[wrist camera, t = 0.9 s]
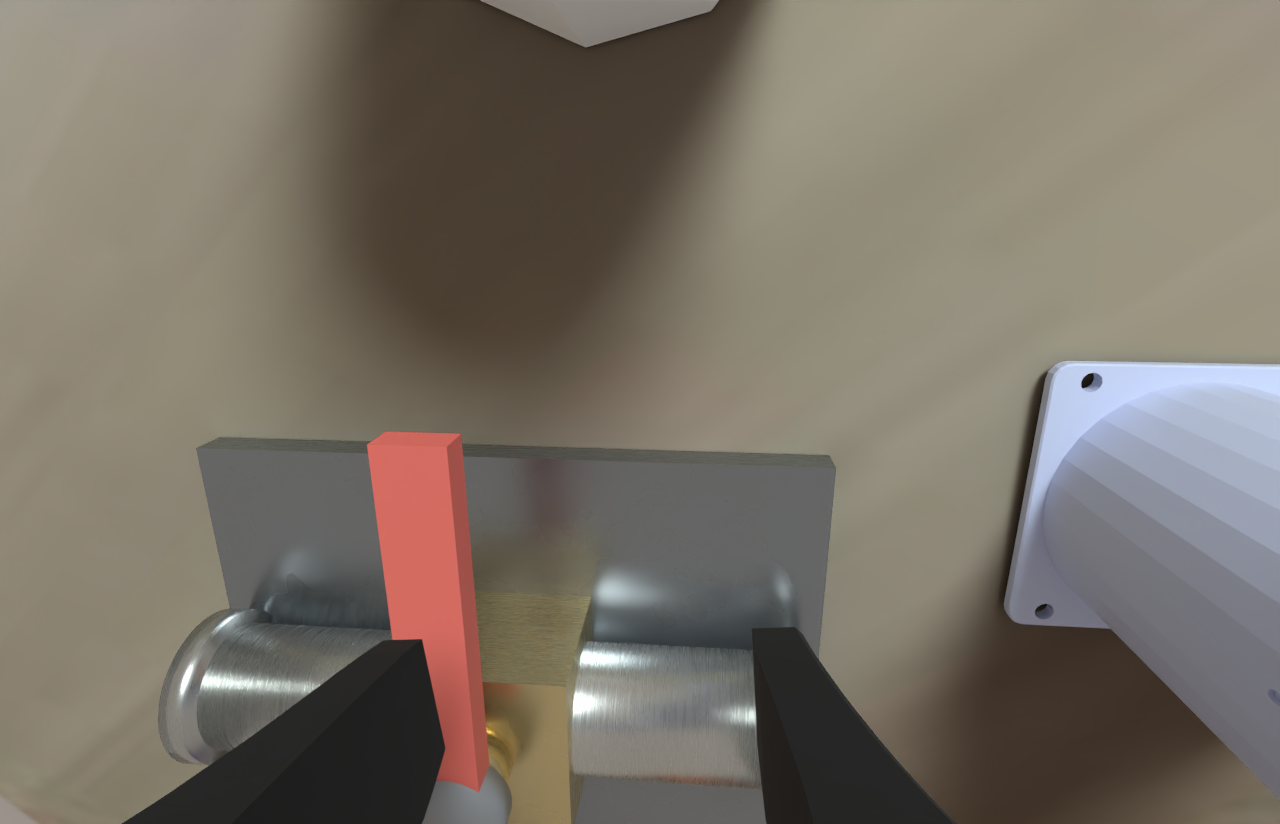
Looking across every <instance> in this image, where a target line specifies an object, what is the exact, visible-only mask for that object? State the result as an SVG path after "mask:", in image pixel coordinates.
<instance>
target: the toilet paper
mask: <svg viewBox="0 0 1280 824" xmlns="http://www.w3.org/2000/svg"><path fill="white" fill-rule="evenodd" d="M480 1H482V2H485V3H487V4H489V5H491V6H494V7H496V8H498V9H500V10H503V11H505V12H507V13H509V14H512V15H514V16H516V17H518V18H520V19H523V20H525V21H527V22H529V23H532V24H534V25H536V26H538V27H541V28H543V29H545V30H547V31H550V32H552V33H554V34H556V35H559V36H561V37H563V38H565V39H568V40H570V41H572V42H574V43H576V44H579V45H581V46H583V47H585V48H586V47H589V46H593V45H596V44H600V43H603V42H607V41H610V40H613V39H617V38H620V37H624V36H627V35H631V34H634V33H638V32H641V31H644V30H648V29H651V28H655V27H658V26H662V25H665V24H669V23H672V22H675V21H679V20H682V19H686V18H689V17H693V16H696V15H700V14H703V13H706V12H710V11H711V10H712V9H713V8H714V6H715V5H716V4H717V3H718V1H719V0H480Z"/></svg>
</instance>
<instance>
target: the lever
mask: <svg viewBox="0 0 1280 824" xmlns="http://www.w3.org/2000/svg"><path fill="white" fill-rule="evenodd" d="M367 449H368V457H369V464H370V472H371V480H372V487H373V495H374V503H375V510H376V518H377V526H378V533H379V541H380V549H381V556H382V564H383V571H384V579H385V587H386V594H387V602H388V610H389V617H390V625H391V633H392V640H408V639H422V641H423V646H424V651H425V655H426V660H427V665H428V669H429V674H430V679H431V683H432V688H433V693H434V697H435V702H436V707H437V711H438V716H439V721H440V725H441V730H442V735H443V739H444V744H445V752H444V756H443V759H442V763H441V766H440V769H439V773H438V776H437V780H436V783H435V786H434V790H433V793H432V796H431V799H430V802H429V805H428V808H427V811H426V814H425V817H424V820H423V822H422V824H507V822H508V819H509V815H510V812H511V808H512V795H511V792H510V788H509V786H508V784H507V783H506V781H505V779H504V778H503V777H502V776H501V774H500V773H499V772H498V771H497V770H495V769H494V768H493V767H492V766H490V765H489V753H488V742H487V730H486V718H485V707H484V695H483V683H482V671H481V660H480V648H479V636H478V625H477V613H476V601H475V590H474V578H473V566H472V555H471V543H470V531H469V520H468V508H467V496H466V484H465V473H464V461H463V449H462V438H461V434H455V433H420V432H384V433H383V434H382V435H380V436H379V437H377V438H376V439H374V440H373V441H371V442H370V443H369V444H367Z"/></svg>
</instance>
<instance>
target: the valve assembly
mask: <svg viewBox="0 0 1280 824" xmlns="http://www.w3.org/2000/svg"><path fill="white" fill-rule="evenodd" d="M369 443H370V442H357V441H323V440H290V439H256V438H222V437H219V438H217V439H215V440H213V441H211V442H209V443H206V444H204V445H202V446H200V447H198V448H196V449H197V454H198V459H199V463H200V468H201V473H202V478H203V482H204V487H205V492H206V497H207V501H208V506H209V511H210V515H211V520H212V525H213V530H214V534H215V539H216V544H217V548H218V553H219V558H220V563H221V567H222V572H223V577H224V581H225V586H226V591H227V596H228V600H229V605H230V609H224V610H221V611H219V612H216V613H214V614H213V615H211V616H209V617H208V618H206V619H205V620H204V621H202V622H201V623H200V624H199V625H198V626H197V627H196V628H195V629H194V630H193V631H192V632H191V633H190V635H189V636H188V637H187V639H186V640H185V641H184V643H183V644H182V645H181V647H180V649H179V650H178V652H177V654H176V655H175V657H174V659H173V661H172V663H171V666H170V668H169V670H168V673H167V675H166V678H165V681H164V684H163V688H162V692H161V696H160V703H159V712H158V724H159V732H160V738H161V740H162V743H163V746H164V748H165V749H166V751H167V753H168V754H169V755H170V756H171V757H172V758H173V759H175V760H176V761H178V762H181V763H185V764H197V765H211V764H212V763H214V762H215V761H217V760H218V759H219V758H221V757H222V756H224V755H225V754H227V753H228V752H230V751H231V750H232V749H234V748H235V747H237V746H238V745H240V744H241V743H243V742H244V741H245V740H247V739H248V738H250V737H251V736H252V735H254V734H255V733H257V732H258V731H259V730H261V729H262V728H263V727H265V726H266V725H267V724H269V723H270V722H271V721H273V720H274V719H276V718H277V717H278V716H280V715H281V714H282V713H284V712H285V711H286V710H288V709H289V708H290V707H292V706H293V705H294V704H296V703H297V702H299V701H300V700H301V699H303V698H304V697H305V696H307V695H308V694H309V693H311V692H312V691H313V690H315V689H316V688H317V687H319V686H320V685H321V684H323V683H324V682H325V681H327V680H328V679H329V678H331V677H332V676H333V675H335V674H336V673H337V672H339V671H340V670H341V669H343V668H344V667H346V666H347V665H348V664H350V663H351V662H352V661H354V660H355V659H357V658H358V657H359V656H361V655H362V654H364V653H365V652H367V651H368V650H369V649H371V648H372V647H374V646H376V645H377V644H379V643H380V642H382V641H383V640H392V633H391V625H390V617H389V610H388V602H387V594H386V587H385V579H384V571H383V564H382V556H381V549H380V541H379V533H378V526H377V518H376V510H375V503H374V495H373V487H372V480H371V472H370V464H369V457H368V449H367V444H369ZM462 449H463V461H464V473H465V484H466V496H467V508H468V520H469V531H470V543H471V555H472V566H473V578H474V590H475V601H476V613H477V625H478V636H479V648H480V660H481V671H482V683H483V695H484V707H485V718H486V730H487V742H488V753H489V765H490V766H492V767H493V768H494V769H495V770H497V771H498V772H499V773H500V774H501V776H502V777H503V778H504V779H505V781H506V783H507V784H508V786H509V788H510V792H511V795H512V808H511V812H510V815H509V819H508V822H507V824H767V823H766V818H765V810H764V801H763V792H762V784H761V774H760V765H759V756H758V747H757V729H756V707H755V685H754V663H753V641H752V628H781V627H795V628H797V629H798V630H799V631H800V632H801V633H802V634H803V635H804V637H805V639H806V640H807V642H808V644H809V645H810V647H811V649H812V650H813V652H814V653H815V655H816V656H817V658H818V657H819V646H820V635H821V625H822V614H823V603H824V592H825V582H826V571H827V560H828V549H829V538H830V528H831V517H832V506H833V495H834V484H835V474H836V467H835V465H834V464H833V462H832V460H831V458H830V456H828V455H795V454H761V453H727V452H694V451H660V450H626V449H593V448H559V447H525V446H492V445H462Z"/></svg>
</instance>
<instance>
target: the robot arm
mask: <svg viewBox="0 0 1280 824" xmlns="http://www.w3.org/2000/svg"><path fill="white" fill-rule="evenodd" d="M1090 373H1093V375H1094V380H1093V382H1092V384H1091V385H1089V386H1088V387H1086V388H1082V387H1081V381H1082V379H1083V377H1085V376H1086V375H1087V374H1090ZM1042 604H1047V606H1046V607H1045V609H1043V610H1042V611H1038V612H1035V610H1036V608H1037V607H1038V606H1040V605H1042ZM1004 609H1005V611H1006V613H1007V614H1008V616H1009V617H1010V618H1011V619H1012V620H1013V621H1014V622H1016V623H1019V624H1026V625H1046V626H1066V627H1086V628H1106V629H1111V630H1112V631H1113V632H1114V633H1115V634H1116V635H1117V636H1118V637H1119V638H1120V639H1121V640H1122V641H1123V642H1124V643H1125V644H1126V645H1127V646H1128V647H1129V648H1130V649H1131V650H1132V651H1133V652H1134V653H1135V654H1136V655H1137V656H1138V657H1139V658H1140V659H1141V660H1142V661H1143V662H1144V663H1145V664H1146V665H1147V666H1148V667H1149V668H1150V669H1151V670H1152V671H1153V672H1154V673H1155V674H1156V675H1157V676H1158V677H1159V678H1160V679H1161V680H1162V681H1163V682H1164V683H1165V684H1166V685H1167V686H1168V687H1169V688H1170V689H1171V690H1172V691H1173V692H1174V693H1175V694H1176V695H1177V696H1178V697H1179V698H1180V699H1181V700H1182V702H1183V703H1184V704H1185V705H1186V706H1187V707H1188V708H1189V709H1190V710H1191V711H1192V712H1193V713H1194V714H1195V715H1196V716H1197V717H1198V718H1199V719H1200V720H1201V721H1202V722H1203V723H1204V724H1205V725H1206V726H1207V727H1208V728H1209V729H1210V730H1211V731H1212V732H1213V733H1214V734H1215V735H1216V736H1217V737H1218V738H1219V739H1220V740H1221V741H1222V742H1223V743H1224V744H1225V745H1226V746H1227V747H1228V748H1229V749H1230V750H1231V751H1232V752H1233V753H1234V754H1235V755H1236V756H1237V757H1238V758H1239V759H1240V760H1241V761H1242V762H1243V763H1244V764H1245V765H1246V766H1247V767H1248V768H1249V769H1250V770H1251V771H1252V772H1253V773H1254V774H1255V776H1256V777H1257V778H1258V779H1259V780H1260V781H1261V782H1262V783H1263V784H1264V785H1265V786H1266V787H1267V788H1268V789H1269V790H1270V791H1271V792H1272V793H1273V794H1274V795H1275V796H1276V797H1277V798H1278V799H1279V800H1280V364H1221V363H1163V362H1105V361H1065V362H1060V363H1058V364H1056V365H1054V366H1053V367H1052V368H1051V369H1050V370H1049V372H1048V374H1047V376H1046V379H1045V384H1044V390H1043V395H1042V401H1041V406H1040V411H1039V417H1038V422H1037V427H1036V433H1035V438H1034V444H1033V449H1032V454H1031V460H1030V465H1029V471H1028V476H1027V481H1026V487H1025V492H1024V498H1023V503H1022V508H1021V514H1020V519H1019V525H1018V530H1017V535H1016V541H1015V546H1014V552H1013V557H1012V562H1011V568H1010V573H1009V579H1008V584H1007V589H1006V595H1005V600H1004ZM752 641H753V663H754V685H755V707H756V729H757V747H758V756H759V765H760V774H761V784H762V792H763V801H764V810H765V818H766V823H767V824H956V823H955V822H954V821H953V820H952V819H951V818H950V817H949V816H948V815H947V814H946V813H945V812H944V811H943V810H942V809H941V808H940V807H939V806H938V805H937V804H936V803H935V802H934V801H933V800H932V798H931V797H930V796H929V795H928V794H927V793H926V792H925V791H924V790H923V789H922V788H921V787H920V785H919V784H918V783H917V782H916V781H915V780H914V779H913V778H912V777H911V775H910V774H909V773H908V772H907V771H906V770H905V769H904V768H903V767H902V765H901V764H900V763H899V762H898V761H897V760H896V759H895V757H894V756H893V755H892V754H891V753H890V752H889V750H888V749H887V748H886V747H885V746H884V745H883V743H882V742H881V741H880V740H879V739H878V737H877V736H876V735H875V734H874V732H873V731H872V730H871V729H870V727H869V726H868V725H867V724H866V722H865V721H864V720H863V719H862V717H861V716H860V715H859V714H858V712H857V711H856V710H855V709H854V708H853V706H852V705H851V704H850V702H849V701H848V700H847V698H846V697H845V696H844V694H843V693H842V692H841V690H840V689H839V688H838V686H837V685H836V684H835V682H834V681H833V679H832V678H831V677H830V675H829V674H828V672H827V671H826V670H825V668H824V667H823V665H822V664H821V662H820V661H819V659H818V658H817V656H816V655H815V653H814V652H813V650H812V649H811V647H810V645H809V644H808V642H807V640H806V639H805V637H804V635H803V634H802V633H801V632H800V631H799V630H798V629H797V628H795V627H781V628H752ZM444 752H445V744H444V739H443V735H442V730H441V725H440V721H439V716H438V711H437V707H436V702H435V697H434V693H433V688H432V683H431V679H430V674H429V669H428V665H427V660H426V655H425V651H424V646H423V641H422V639H408V640H383V641H382V642H380V643H379V644H377V645H376V646H374V647H372V648H371V649H369V650H368V651H367V652H365V653H364V654H362V655H361V656H359V657H358V658H357V659H355V660H354V661H352V662H351V663H350V664H348V665H347V666H346V667H344V668H343V669H341V670H340V671H339V672H337V673H336V674H335V675H333V676H332V677H331V678H329V679H328V680H327V681H325V682H324V683H323V684H321V685H320V686H319V687H317V688H316V689H315V690H313V691H312V692H311V693H309V694H308V695H307V696H305V697H304V698H303V699H301V700H300V701H299V702H297V703H296V704H294V705H293V706H292V707H290V708H289V709H288V710H286V711H285V712H284V713H282V714H281V715H280V716H278V717H277V718H276V719H274V720H273V721H271V722H270V723H269V724H267V725H266V726H265V727H263V728H262V729H261V730H259V731H258V732H257V733H255V734H254V735H252V736H251V737H250V738H248V739H247V740H245V741H244V742H243V743H241V744H240V745H238V746H237V747H235V748H234V749H232V750H231V751H230V752H228V753H227V754H225V755H224V756H222V757H221V758H219V759H218V760H217V761H215V762H214V763H212V764H211V765H209V766H208V767H206V768H205V769H204V770H202V771H201V772H199V773H198V774H196V775H195V776H194V777H192V778H191V779H189V780H188V781H186V782H185V783H183V784H182V785H181V786H179V787H178V788H176V789H175V790H173V791H172V792H170V793H169V794H167V795H166V796H164V797H163V798H161V799H160V800H158V801H157V802H155V803H154V804H152V805H151V806H149V807H147V808H146V809H144V810H143V811H141V812H140V813H138V814H136V815H135V816H133V817H132V818H130V819H129V820H127V821H125V822H124V823H122V824H422V822H423V820H424V817H425V814H426V811H427V808H428V805H429V802H430V799H431V796H432V793H433V790H434V786H435V783H436V780H437V776H438V773H439V769H440V766H441V763H442V759H443V756H444Z"/></svg>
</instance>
